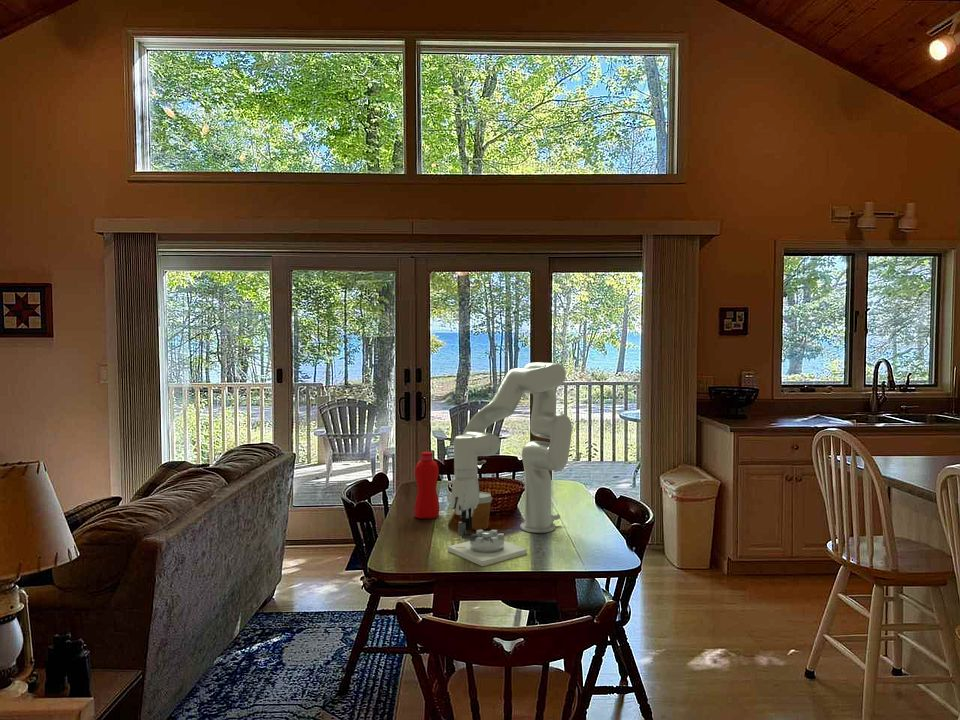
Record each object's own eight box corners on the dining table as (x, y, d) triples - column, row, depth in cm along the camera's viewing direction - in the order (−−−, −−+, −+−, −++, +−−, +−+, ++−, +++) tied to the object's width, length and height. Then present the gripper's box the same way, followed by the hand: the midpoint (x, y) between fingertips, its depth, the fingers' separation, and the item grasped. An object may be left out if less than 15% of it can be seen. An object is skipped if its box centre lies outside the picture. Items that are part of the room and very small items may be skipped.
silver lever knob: (503, 541, 209) (503, 517, 209) (504, 552, 198) (504, 527, 198) (459, 541, 209) (459, 517, 209) (457, 552, 198) (457, 527, 198)
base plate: (490, 540, 216) (490, 535, 216) (526, 553, 202) (526, 548, 202) (447, 550, 205) (447, 546, 205) (482, 566, 191) (482, 561, 191)
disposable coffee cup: (462, 525, 234) (462, 493, 233) (486, 522, 237) (486, 490, 237) (471, 532, 225) (471, 498, 224) (496, 529, 228) (496, 496, 228)
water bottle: (440, 512, 252) (440, 449, 251) (437, 519, 241) (437, 454, 240) (417, 511, 252) (416, 449, 252) (413, 519, 241) (413, 454, 241)
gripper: (469, 467, 214) (470, 521, 215) (442, 476, 202) (443, 533, 203) (488, 470, 210) (488, 525, 211) (461, 479, 198) (462, 537, 198)
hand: (466, 529), depth 207 cm, fingers closed
